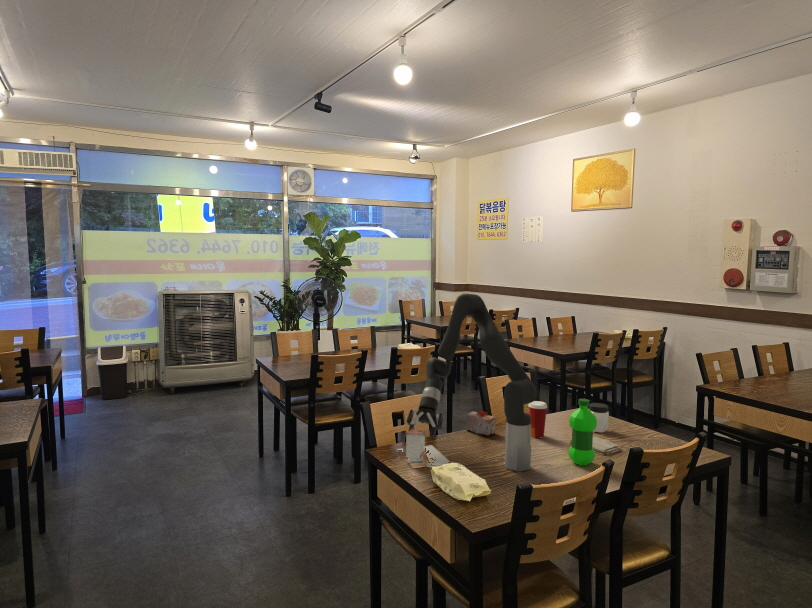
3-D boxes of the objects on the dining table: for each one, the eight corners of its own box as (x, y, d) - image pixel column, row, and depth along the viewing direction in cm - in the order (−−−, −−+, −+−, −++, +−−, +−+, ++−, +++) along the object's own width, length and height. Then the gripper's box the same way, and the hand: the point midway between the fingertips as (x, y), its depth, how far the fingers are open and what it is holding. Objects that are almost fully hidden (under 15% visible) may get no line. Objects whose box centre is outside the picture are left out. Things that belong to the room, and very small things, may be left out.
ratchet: (425, 462, 204) (425, 445, 204) (410, 464, 202) (410, 446, 202) (413, 450, 217) (414, 433, 216) (399, 452, 215) (399, 435, 214)
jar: (601, 434, 242) (602, 408, 241) (584, 430, 248) (585, 405, 247) (610, 430, 248) (611, 405, 247) (593, 426, 254) (595, 401, 253)
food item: (498, 433, 241) (499, 412, 240) (489, 438, 235) (490, 416, 234) (473, 427, 250) (473, 406, 249) (463, 431, 244) (464, 410, 243)
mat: (453, 465, 203) (453, 464, 203) (413, 470, 198) (413, 469, 198) (431, 446, 224) (431, 445, 224) (395, 449, 219) (395, 449, 219)
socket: (425, 454, 208) (425, 430, 207) (420, 459, 202) (420, 434, 201) (410, 452, 210) (411, 428, 209) (405, 457, 204) (405, 432, 204)
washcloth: (605, 457, 215) (605, 450, 215) (568, 444, 230) (568, 437, 230) (622, 451, 222) (622, 444, 222) (585, 439, 237) (585, 432, 237)
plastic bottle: (564, 458, 212) (566, 396, 210) (590, 458, 212) (593, 397, 210) (571, 467, 202) (573, 403, 200) (599, 468, 202) (602, 403, 200)
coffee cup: (548, 435, 240) (550, 402, 239) (542, 440, 233) (544, 406, 232) (530, 431, 244) (531, 399, 243) (524, 436, 238) (525, 403, 236)
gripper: (411, 393, 221) (401, 429, 211) (445, 397, 216) (436, 433, 206) (415, 403, 226) (406, 438, 216) (448, 407, 221) (439, 442, 212)
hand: (420, 435), depth 211 cm, fingers open, 8 cm apart
